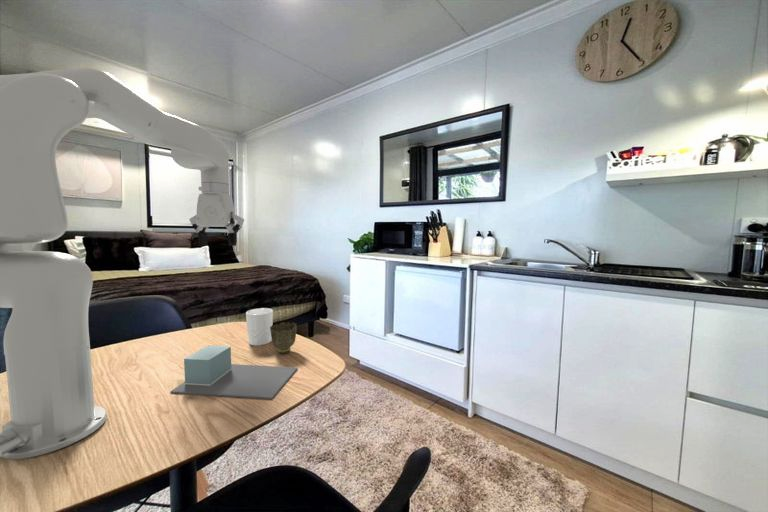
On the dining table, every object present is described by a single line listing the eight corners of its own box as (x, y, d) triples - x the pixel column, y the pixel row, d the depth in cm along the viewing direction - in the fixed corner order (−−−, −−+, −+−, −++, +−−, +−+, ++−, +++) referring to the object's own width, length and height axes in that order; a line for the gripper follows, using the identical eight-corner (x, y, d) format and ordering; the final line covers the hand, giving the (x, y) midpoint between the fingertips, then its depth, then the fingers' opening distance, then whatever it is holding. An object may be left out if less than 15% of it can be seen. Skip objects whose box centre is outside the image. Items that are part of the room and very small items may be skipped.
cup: (270, 349, 89) (270, 323, 89) (296, 345, 92) (295, 320, 91) (270, 359, 82) (269, 330, 82) (298, 355, 85) (297, 328, 84)
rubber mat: (271, 399, 62) (271, 397, 62) (170, 393, 65) (170, 391, 65) (297, 369, 76) (297, 367, 76) (213, 364, 79) (213, 363, 78)
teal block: (209, 386, 67) (208, 360, 66) (185, 384, 67) (183, 358, 67) (231, 369, 75) (230, 346, 74) (209, 368, 75) (208, 345, 75)
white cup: (278, 340, 96) (278, 310, 95) (257, 348, 90) (256, 316, 89) (263, 335, 100) (262, 306, 100) (241, 343, 94) (240, 312, 93)
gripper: (180, 188, 89) (182, 245, 90) (235, 188, 87) (236, 246, 89) (198, 192, 96) (200, 244, 98) (248, 191, 95) (250, 245, 96)
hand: (217, 245), depth 93 cm, fingers open, 9 cm apart
